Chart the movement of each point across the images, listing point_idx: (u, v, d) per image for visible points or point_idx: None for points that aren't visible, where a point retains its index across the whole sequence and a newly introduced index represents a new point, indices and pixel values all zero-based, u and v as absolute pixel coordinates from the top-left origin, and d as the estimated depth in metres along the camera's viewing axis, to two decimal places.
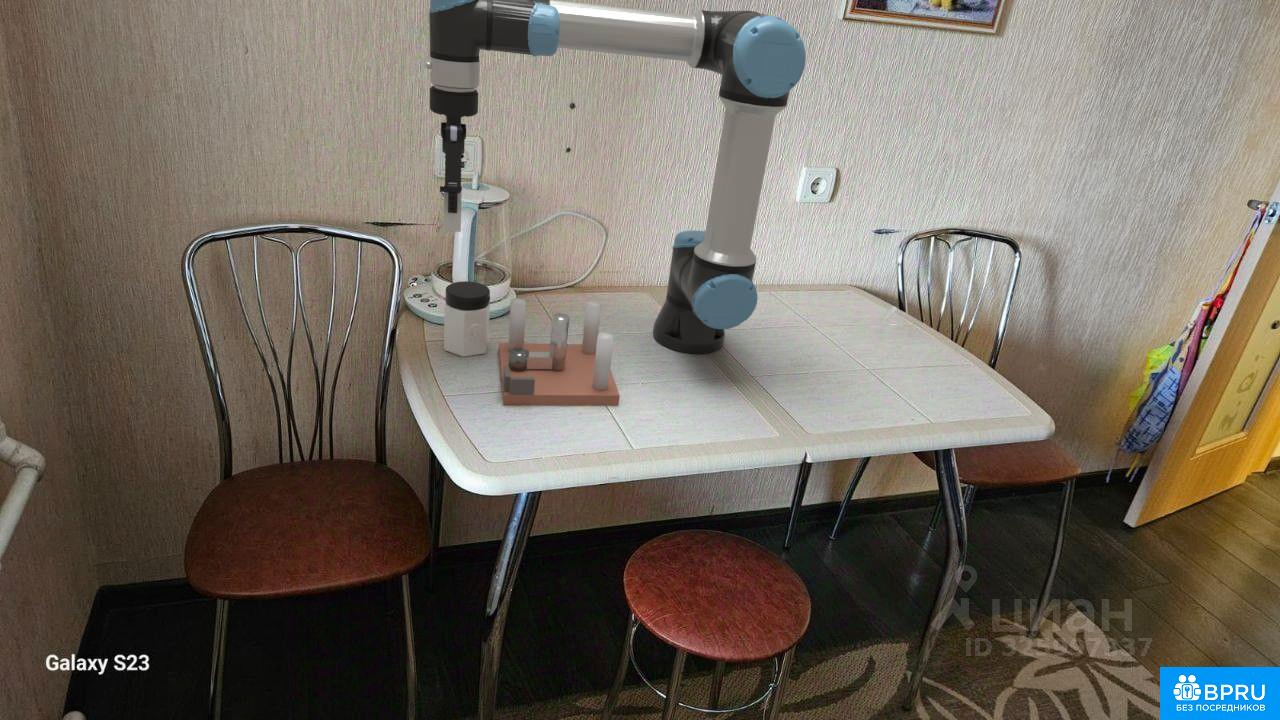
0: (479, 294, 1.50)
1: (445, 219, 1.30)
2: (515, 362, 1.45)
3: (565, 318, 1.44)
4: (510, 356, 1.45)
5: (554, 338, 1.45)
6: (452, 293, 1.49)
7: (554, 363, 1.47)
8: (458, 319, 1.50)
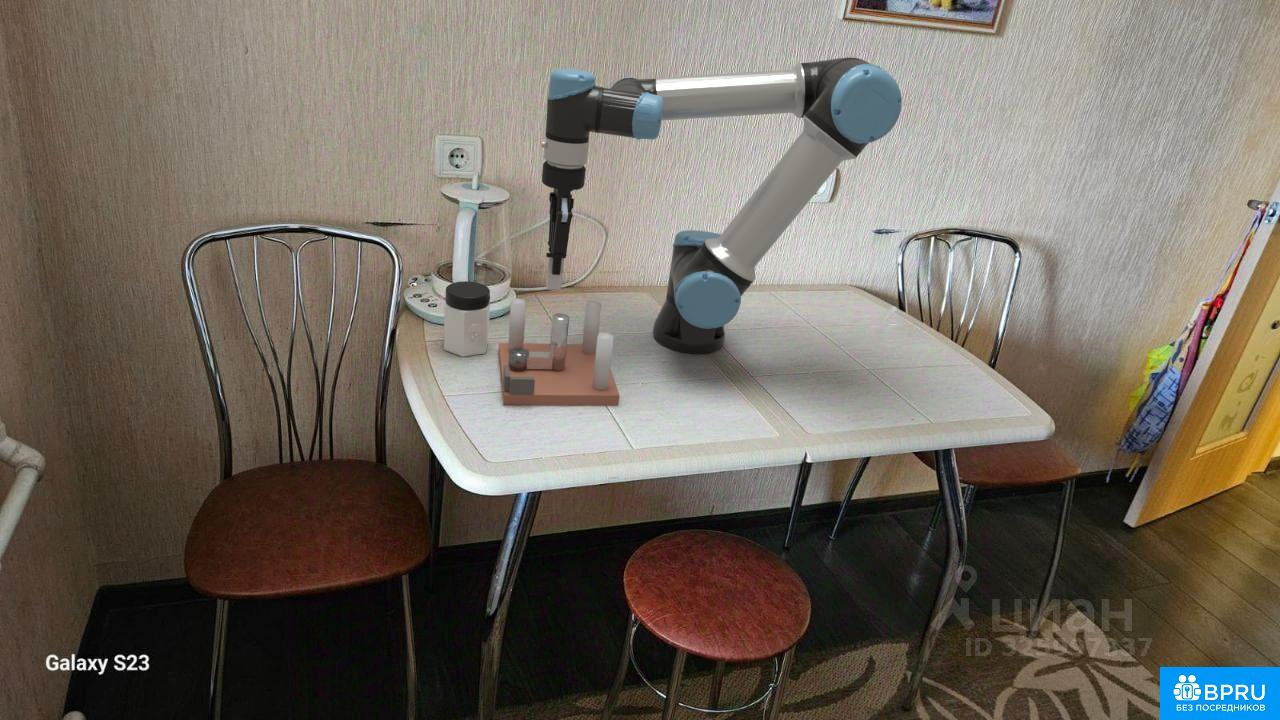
0: (479, 294, 1.50)
1: (549, 279, 1.51)
2: (515, 362, 1.45)
3: (565, 318, 1.44)
4: (510, 356, 1.45)
5: (554, 338, 1.45)
6: (452, 293, 1.49)
7: (554, 363, 1.47)
8: (458, 319, 1.50)
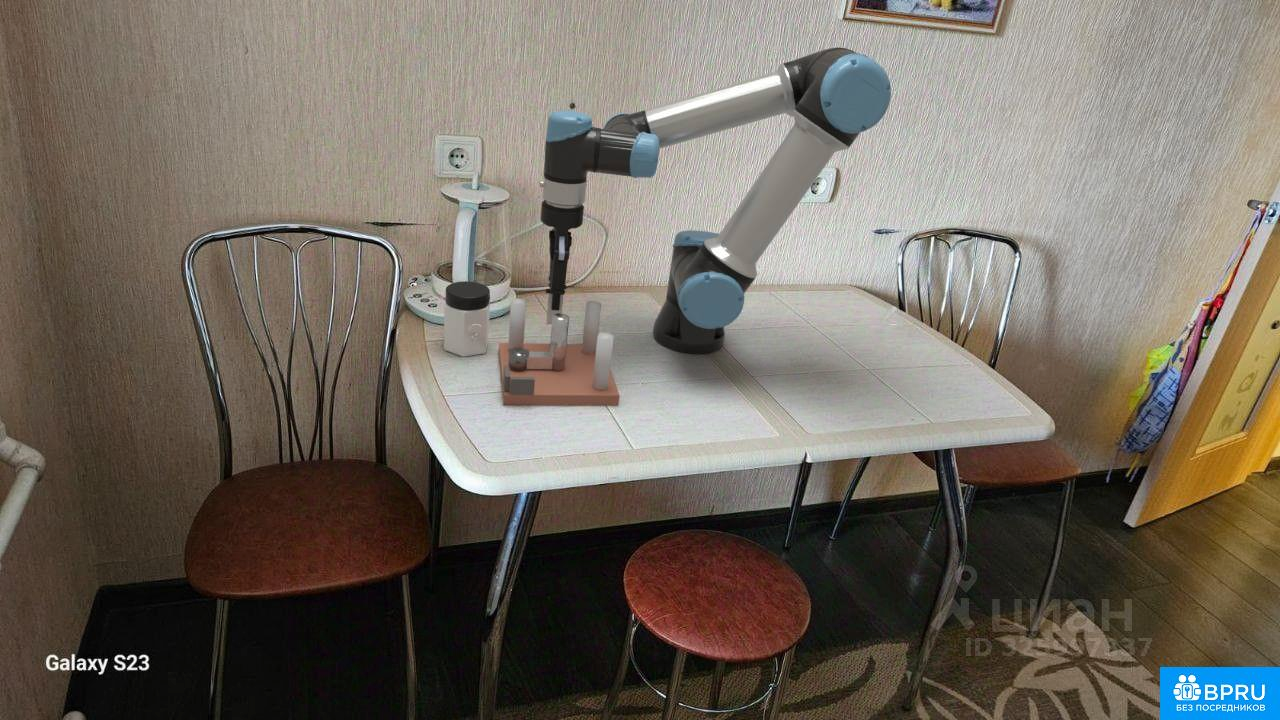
0: (479, 294, 1.50)
1: (548, 314, 1.53)
2: (515, 362, 1.45)
3: (565, 318, 1.44)
4: (510, 356, 1.45)
5: (554, 338, 1.45)
6: (452, 293, 1.49)
7: (554, 363, 1.47)
8: (458, 319, 1.50)
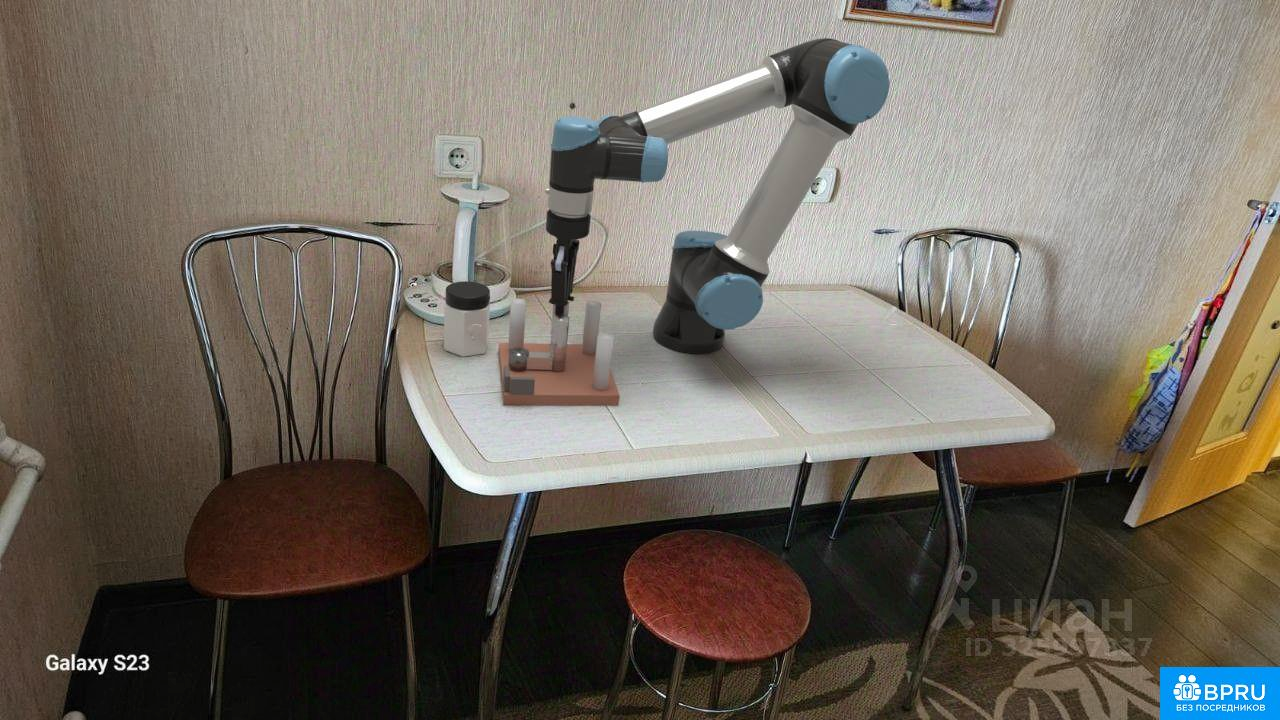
0: (479, 294, 1.50)
1: None
2: (515, 362, 1.45)
3: (565, 319, 1.44)
4: (510, 356, 1.45)
5: (554, 338, 1.45)
6: (452, 293, 1.49)
7: (553, 364, 1.47)
8: (458, 319, 1.50)
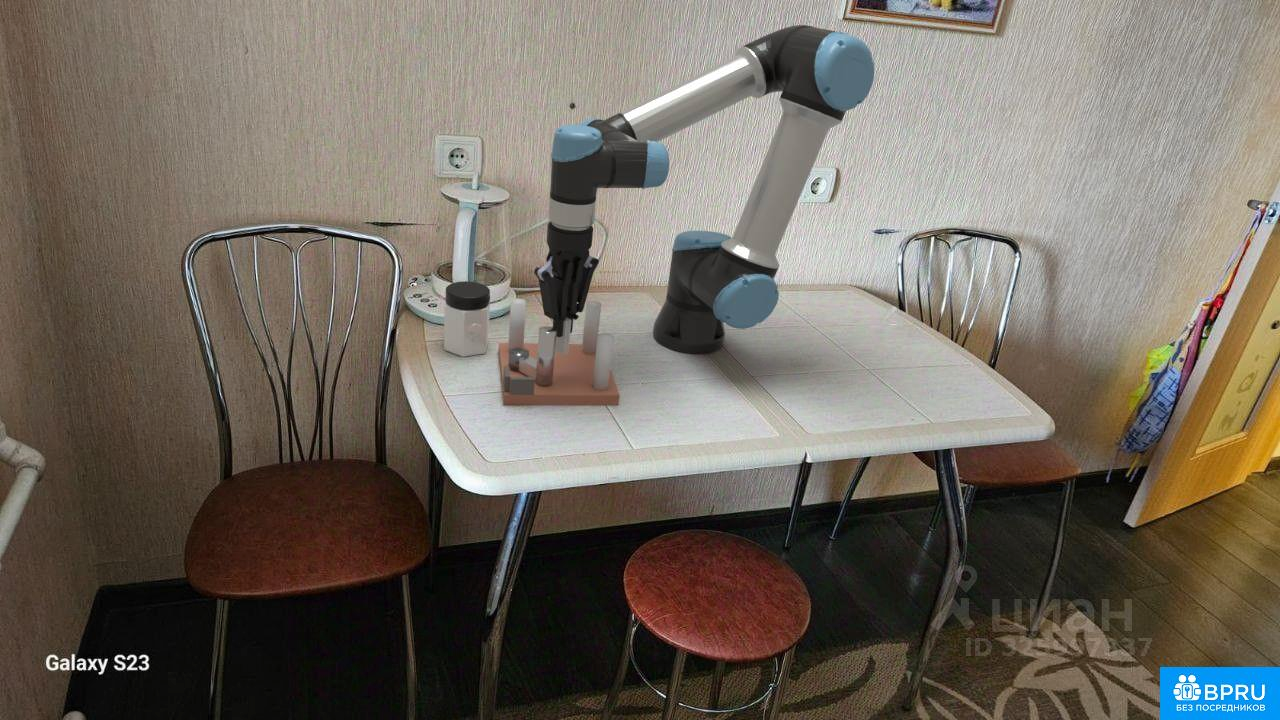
0: (479, 294, 1.50)
1: None
2: (509, 359, 1.46)
3: (547, 332, 1.38)
4: None
5: None
6: (452, 293, 1.49)
7: (536, 375, 1.42)
8: (458, 319, 1.50)
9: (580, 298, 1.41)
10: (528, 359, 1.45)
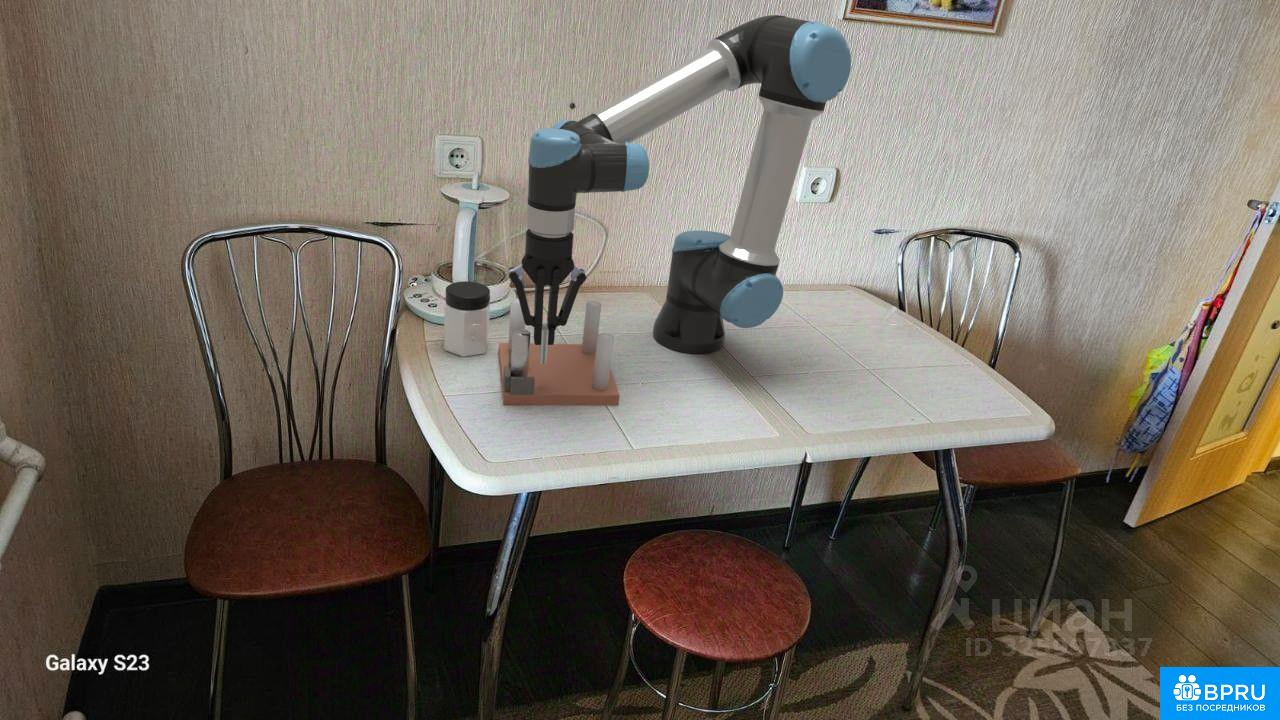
0: (479, 294, 1.50)
1: None
2: None
3: (517, 334, 1.36)
4: None
5: None
6: (452, 293, 1.49)
7: None
8: (458, 319, 1.50)
9: (562, 311, 1.36)
10: None
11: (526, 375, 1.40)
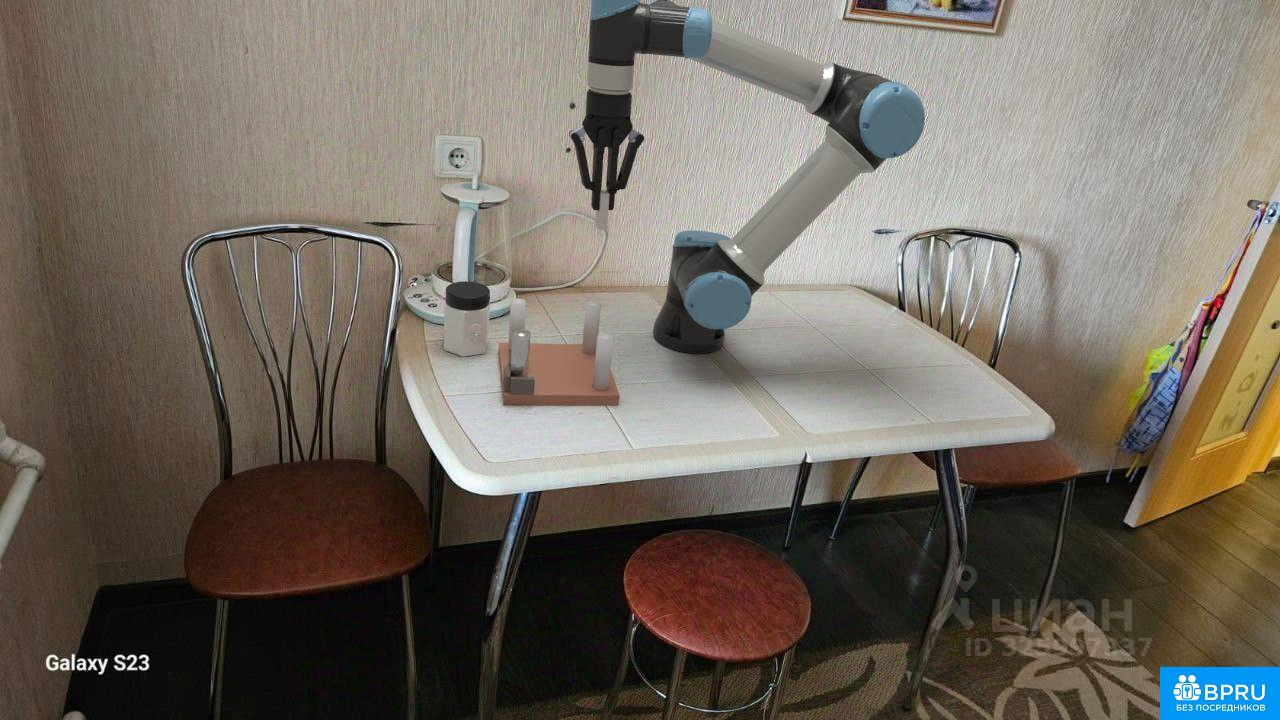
0: (479, 294, 1.50)
1: (596, 215, 1.45)
2: None
3: (517, 334, 1.36)
4: None
5: None
6: (452, 293, 1.49)
7: None
8: (458, 319, 1.50)
9: (622, 174, 1.41)
10: None
11: (526, 375, 1.40)
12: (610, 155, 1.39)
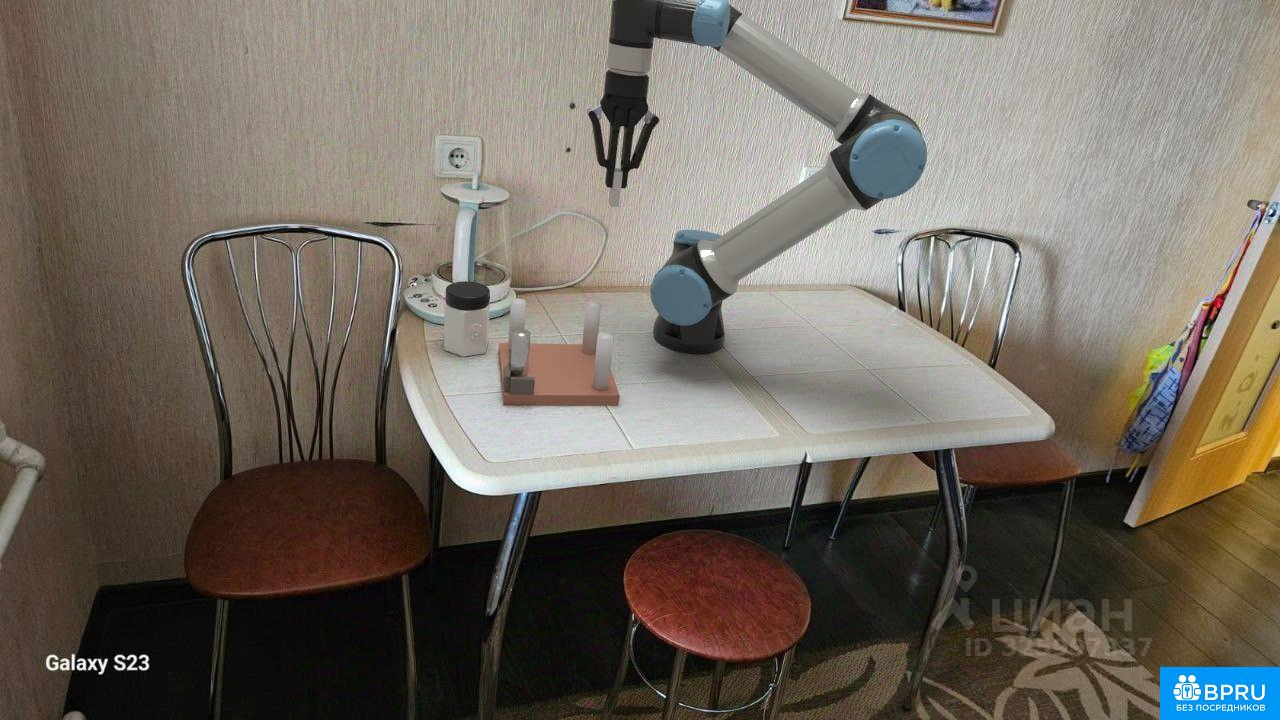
0: (479, 294, 1.50)
1: None
2: None
3: (517, 334, 1.36)
4: None
5: None
6: (452, 293, 1.49)
7: None
8: (458, 319, 1.50)
9: (636, 154, 1.46)
10: None
11: (526, 375, 1.40)
12: (625, 135, 1.44)
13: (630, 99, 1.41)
